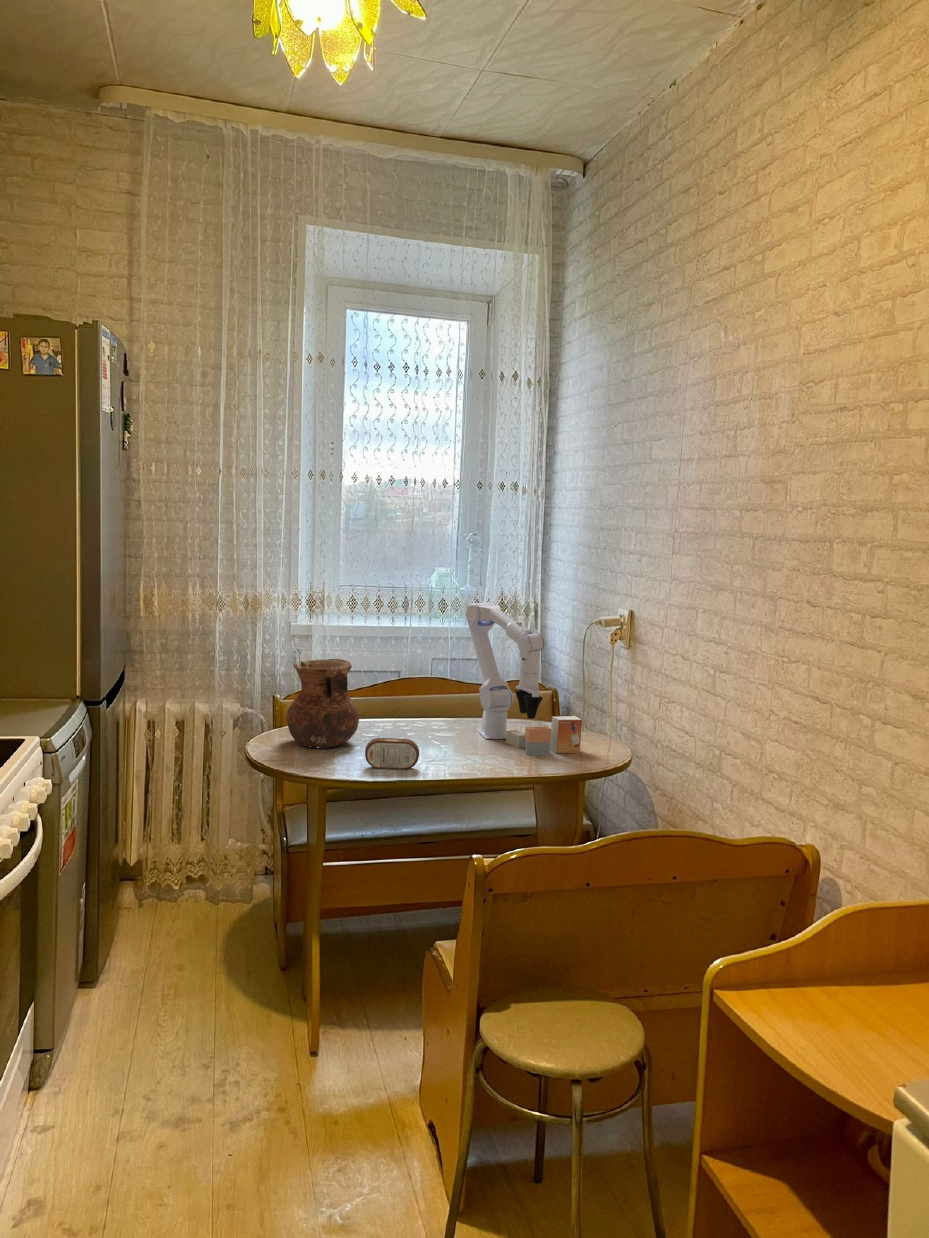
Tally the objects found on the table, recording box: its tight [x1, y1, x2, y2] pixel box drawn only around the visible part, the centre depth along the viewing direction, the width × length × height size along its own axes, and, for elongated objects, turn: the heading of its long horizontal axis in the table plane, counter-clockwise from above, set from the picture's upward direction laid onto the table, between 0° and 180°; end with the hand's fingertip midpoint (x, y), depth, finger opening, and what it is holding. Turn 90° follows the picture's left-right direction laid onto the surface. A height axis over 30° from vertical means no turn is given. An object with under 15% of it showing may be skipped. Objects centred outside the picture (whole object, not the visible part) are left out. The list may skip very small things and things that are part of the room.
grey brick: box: [505, 729, 526, 749], centre depth 287 cm, size 4×7×4 cm, turn 32°
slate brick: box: [524, 741, 551, 756], centre depth 278 cm, size 4×7×4 cm, turn 93°
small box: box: [550, 715, 583, 754], centre depth 282 cm, size 8×6×10 cm
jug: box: [285, 658, 360, 749], centre depth 277 cm, size 22×21×25 cm
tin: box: [364, 737, 420, 771], centre depth 254 cm, size 15×3×8 cm, turn 93°
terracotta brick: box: [525, 726, 551, 743], centre depth 277 cm, size 4×7×4 cm, turn 105°
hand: (527, 715), depth 284 cm, fingers open, 7 cm apart
